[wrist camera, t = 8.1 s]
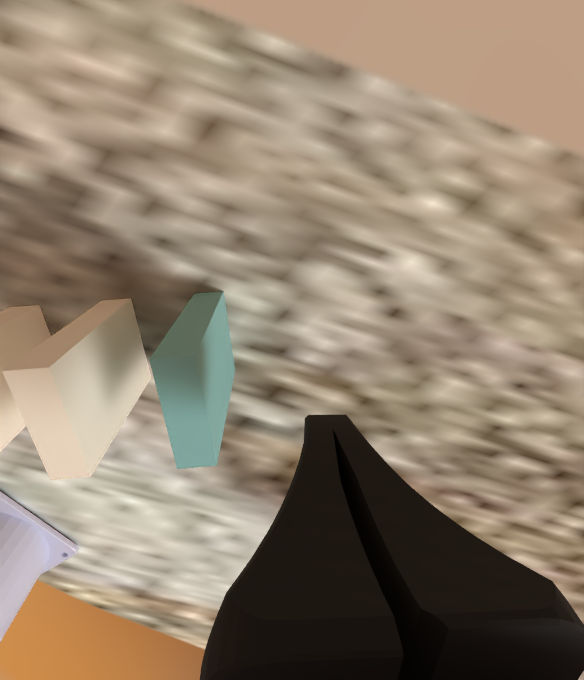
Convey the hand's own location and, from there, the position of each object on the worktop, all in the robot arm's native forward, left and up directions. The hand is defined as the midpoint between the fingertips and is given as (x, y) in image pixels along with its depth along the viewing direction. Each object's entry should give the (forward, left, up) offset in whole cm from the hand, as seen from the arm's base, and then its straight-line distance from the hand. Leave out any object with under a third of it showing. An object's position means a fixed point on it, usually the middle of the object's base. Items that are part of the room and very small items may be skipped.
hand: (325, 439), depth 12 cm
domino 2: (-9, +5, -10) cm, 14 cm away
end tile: (-4, +2, -10) cm, 11 cm away
